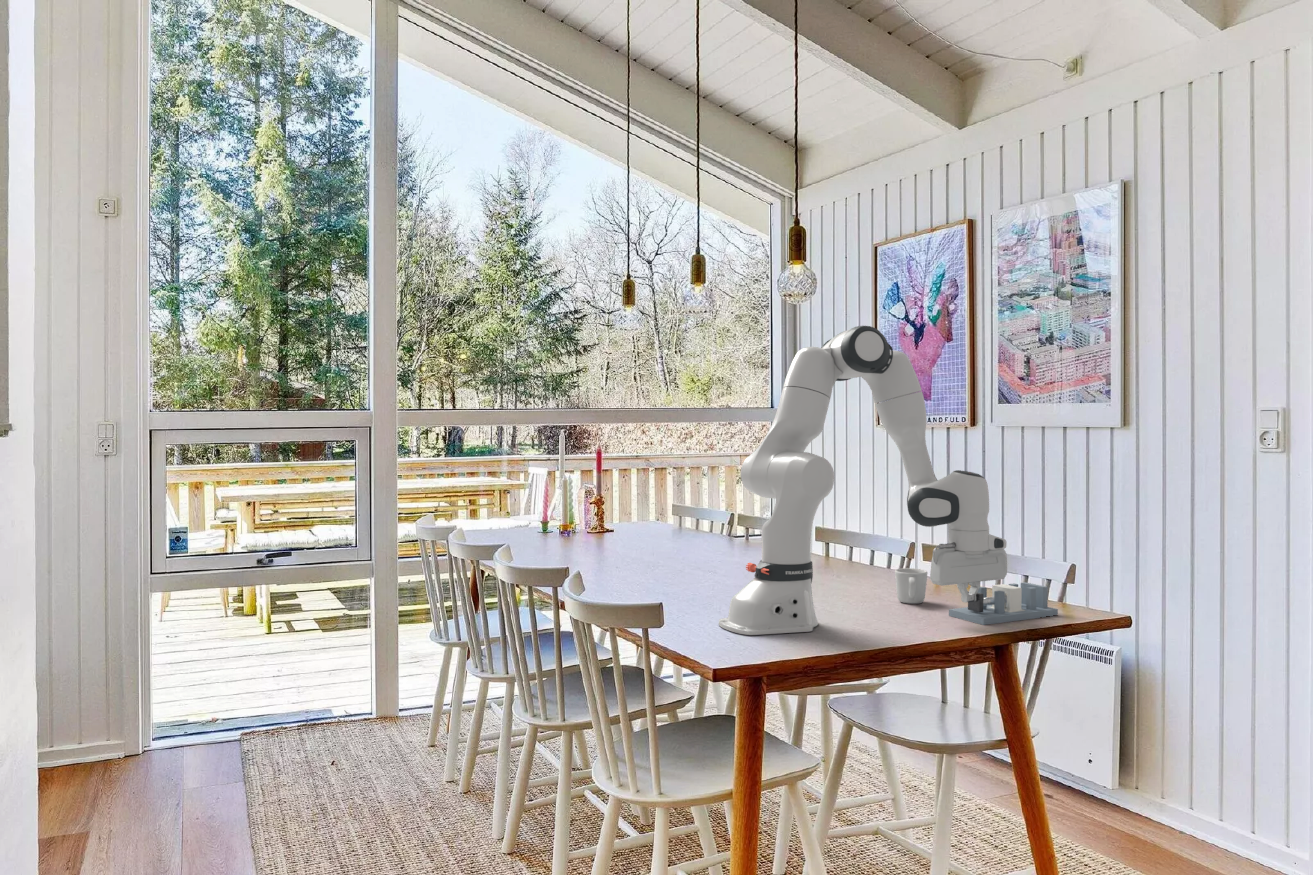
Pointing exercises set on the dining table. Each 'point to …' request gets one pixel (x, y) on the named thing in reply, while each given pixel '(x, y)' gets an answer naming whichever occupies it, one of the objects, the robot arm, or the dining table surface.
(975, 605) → the shaft
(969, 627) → the dining table surface
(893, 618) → the dining table surface
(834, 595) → the dining table surface
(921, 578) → the cup
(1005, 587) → the bracket
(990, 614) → the block
